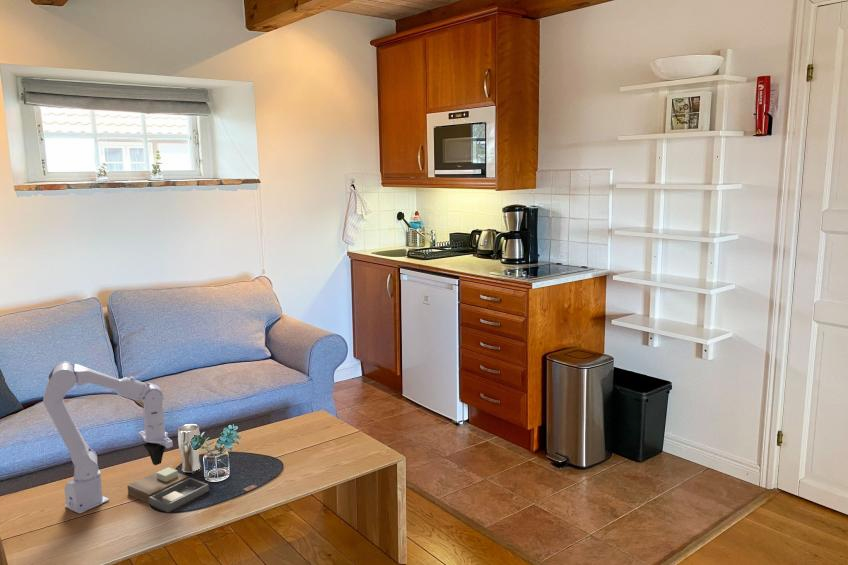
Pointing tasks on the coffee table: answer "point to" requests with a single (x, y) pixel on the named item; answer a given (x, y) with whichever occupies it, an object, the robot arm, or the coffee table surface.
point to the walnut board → (152, 486)
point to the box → (180, 488)
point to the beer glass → (188, 447)
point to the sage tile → (167, 474)
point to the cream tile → (171, 497)
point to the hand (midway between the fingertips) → (157, 463)
